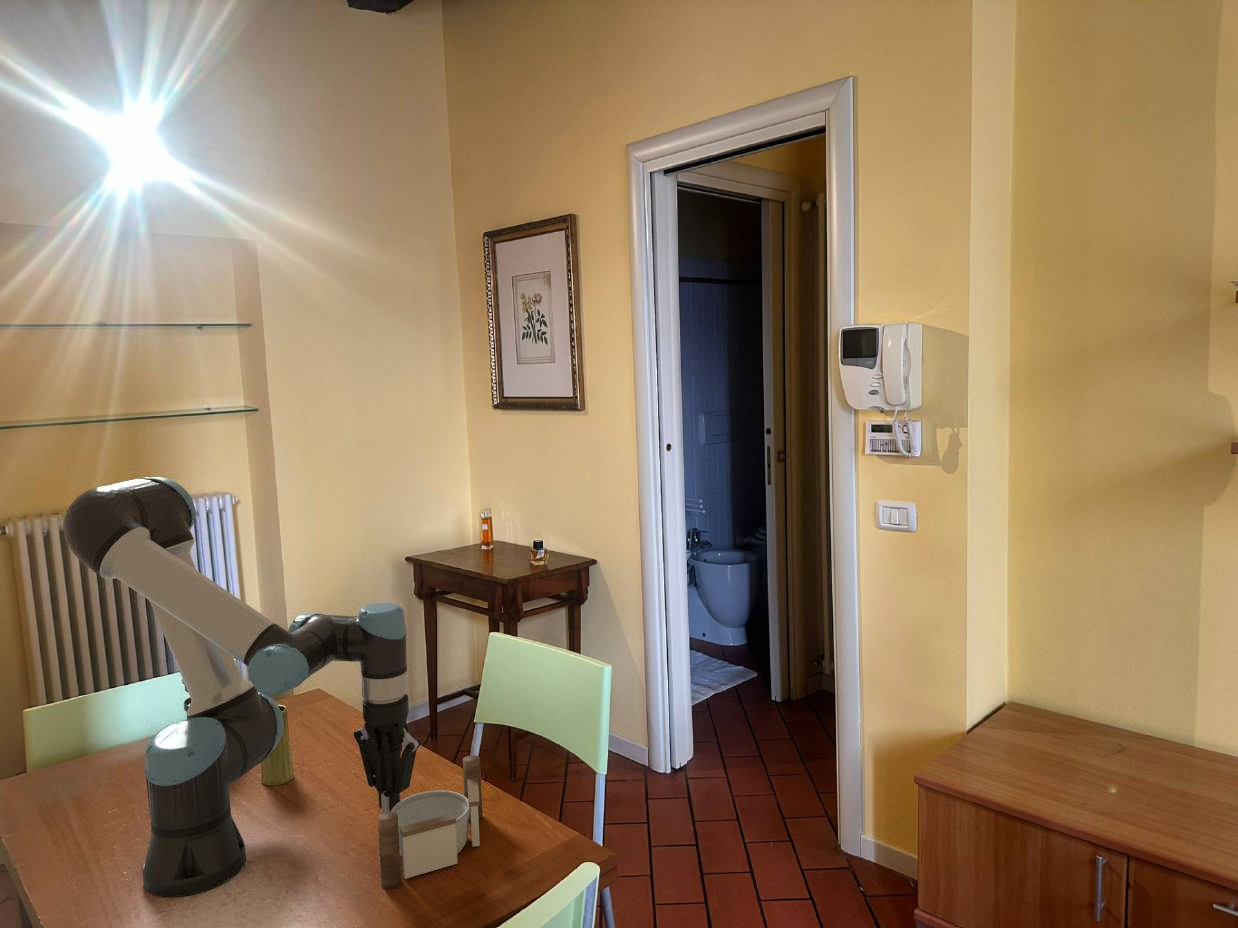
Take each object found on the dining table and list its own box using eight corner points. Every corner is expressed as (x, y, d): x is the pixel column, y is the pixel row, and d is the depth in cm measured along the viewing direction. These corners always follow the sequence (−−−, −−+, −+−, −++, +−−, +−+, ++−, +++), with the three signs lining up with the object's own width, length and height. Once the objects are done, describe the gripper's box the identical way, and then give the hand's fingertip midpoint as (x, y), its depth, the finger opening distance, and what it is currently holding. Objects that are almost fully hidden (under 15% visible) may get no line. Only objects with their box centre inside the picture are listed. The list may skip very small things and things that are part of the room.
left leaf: (405, 879, 140) (402, 832, 139) (402, 873, 141) (400, 827, 140) (458, 864, 144) (455, 818, 143) (454, 858, 145) (452, 813, 144)
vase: (287, 785, 173) (281, 715, 172) (255, 786, 174) (250, 715, 172) (298, 771, 179) (294, 703, 178) (268, 771, 180) (263, 703, 178)
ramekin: (387, 836, 154) (385, 798, 153) (463, 820, 158) (461, 783, 158) (397, 876, 141) (395, 835, 141) (479, 858, 146) (477, 818, 145)
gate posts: (392, 890, 138) (388, 823, 136) (377, 886, 139) (373, 819, 138) (486, 815, 160) (483, 756, 159) (472, 812, 161) (469, 754, 160)
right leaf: (481, 845, 149) (479, 800, 148) (470, 846, 149) (468, 802, 148) (479, 820, 157) (477, 777, 156) (469, 821, 157) (467, 779, 156)
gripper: (429, 693, 151) (433, 824, 154) (371, 682, 157) (376, 808, 160) (400, 710, 145) (405, 846, 148) (340, 697, 150) (346, 828, 153)
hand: (390, 826), depth 154 cm, fingers closed
